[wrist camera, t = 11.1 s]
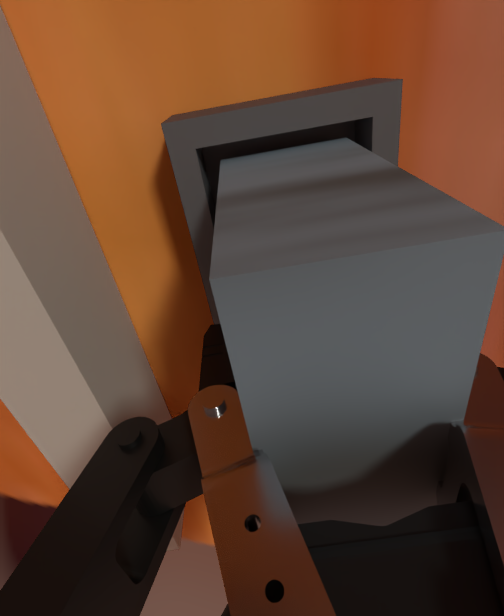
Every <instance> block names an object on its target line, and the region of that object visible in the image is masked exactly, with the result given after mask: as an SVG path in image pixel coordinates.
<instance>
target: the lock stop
mask: <svg viewBox="0 0 504 616" xmlns="http://www.w3.org/2000/svg"><path fill="white" fill-rule="evenodd" d="M503 255H504V226H502V225H500V224H498V223H497V222H495V221H493V220H491V219H490V218H488V217H486V216H484V215H483V214H481V213H479V212H477V211H475V210H474V209H472V208H470V207H468V206H467V205H465V204H463V203H461V202H460V201H458V200H456V199H454V198H452V197H451V196H449V195H447V194H445V193H444V192H442V191H440V190H438V189H437V188H435V187H433V186H431V185H429V184H428V183H426V182H424V181H422V180H421V179H419V178H417V177H415V176H413V175H412V174H410V173H408V172H406V171H405V170H403V169H401V168H399V167H398V166H396V165H394V164H392V163H390V162H389V161H387V160H385V159H383V158H382V157H380V156H378V155H376V154H375V153H373V152H371V151H369V150H367V149H366V148H364V147H362V146H360V145H359V144H357V143H355V142H353V141H352V140H350V139H348V138H346V137H345V138H339V139H333V140H328V141H322V142H317V143H311V144H306V145H300V146H294V147H289V148H283V149H278V150H272V151H267V152H261V153H255V154H250V155H244V156H239V157H233V158H228V159H222V160H221V161H220V172H219V182H218V193H217V203H216V214H215V224H214V235H213V245H212V256H211V266H210V277H209V281H210V284H211V288H212V292H213V296H214V300H215V304H216V308H217V312H218V316H219V320H220V324H221V328H222V332H223V336H224V340H225V344H226V348H227V352H228V355H229V359H230V363H231V367H232V371H233V375H234V379H235V383H236V387H237V391H238V395H239V399H240V403H241V407H242V411H243V415H244V419H245V422H246V426H247V430H248V434H249V438H250V442H251V446H252V450H253V451H254V450H261V449H262V450H263V452H264V453H266V454H267V455H268V457H269V459H270V461H271V464H272V466H273V468H274V471H275V473H276V475H277V478H278V480H279V482H280V485H281V487H282V489H283V492H284V494H285V496H286V499H287V501H288V504H289V506H290V508H291V511H292V513H293V515H294V518H295V520H296V522H297V524H303V523H311V522H318V521H325V520H337V521H345V522H352V523H360V524H367V525H375V526H386V525H389V524H391V523H394V522H396V521H398V520H400V519H402V518H404V517H407V516H409V515H411V514H413V513H415V512H418V511H420V510H422V509H424V508H426V507H428V506H435V505H437V498H436V489H437V485H438V481H442V480H444V477H445V473H446V468H447V464H448V459H449V443H448V433H449V428H450V423H451V422H453V421H461V420H464V417H465V413H466V409H467V405H468V400H469V396H470V392H471V388H472V384H473V380H474V375H475V371H476V367H477V363H478V359H479V355H480V350H481V346H482V342H483V338H484V334H485V330H486V325H487V321H488V317H489V313H490V309H491V305H492V300H493V296H494V292H495V288H496V284H497V280H498V276H499V271H500V267H501V263H502V259H503Z"/></svg>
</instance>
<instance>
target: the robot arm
mask: <svg viewBox="0 0 504 616" xmlns="http://www.w3.org/2000/svg"><path fill="white" fill-rule="evenodd" d="M448 443H449V459H448V464H447V468H446V473H445V477H444V480H442V481H438V485H437V489H436V498H437V505H435V506H428V507H426V508H424V509H422V510H420V511H418V512H415V513H413V514H411V515H409V516H407V517H404V518H402V519H400V520H398V521H396V522H394V523H391V524H389V525H386V526H375V525H367V524H360V523H352V522H345V521H337V520H325V521H318V522H311V523H303V524H297V522H296V520H295V518H294V515H293V513H292V511H291V508H290V506H289V504H288V501H287V499H286V496H285V494H284V492H283V489H282V487H281V485H280V482H279V480H278V478H277V475H276V473H275V471H274V468H273V466H272V464H271V461H270V459H269V457H268V455H267V454H266V453H264V452H263V450H262V449H261V450H254V451H253V450H252V446H251V442H250V438H249V434H248V430H247V426H246V422H245V419H244V415H243V411H242V407H241V403H240V399H239V395H238V391H237V387H236V383H235V379H234V375H233V371H232V367H231V363H230V359H229V355H228V352H227V348H226V344H225V340H224V336H223V332H222V328H221V324H215V325H211V326H210V327H209V329H208V330H207V332H206V333H205V335H204V341H203V351H202V362H201V373H200V383H199V392H198V393H197V394H196V395H195V396H194V397H193V398H192V399H191V401H190V403H189V406H188V410H187V411H185V412H184V413H183V414H181V415H179V416H177V417H175V418H173V419H171V420H168V421H166V422H164V423H161V424H159V425H157V424H156V423H155V421H153V420H152V419H150V418H147V417H134V418H130V419H127V420H125V421H123V422H121V423H120V424H118V425H117V426H116V427H114V428H113V429H112V430H111V431H110V432H109V433H108V435H107V436H106V437H105V439H104V440H103V442H102V443H101V445H100V446H99V448H98V449H97V451H96V452H95V453H94V455H93V456H92V458H91V459H90V461H89V462H88V464H87V465H86V467H85V468H84V470H83V471H82V472H81V474H80V475H79V477H78V478H77V480H76V481H75V483H74V484H73V486H72V487H71V488H70V490H69V491H68V493H67V494H66V496H65V497H64V499H63V500H62V502H61V503H60V504H59V506H58V507H57V509H56V510H55V512H54V513H53V515H52V516H51V518H50V519H49V521H48V522H47V523H46V525H45V526H44V528H43V529H42V531H41V532H40V534H39V535H38V537H37V538H36V539H35V541H34V542H33V544H32V545H31V547H30V548H29V550H28V551H27V553H26V554H25V556H24V557H23V558H22V560H21V561H20V563H19V564H18V566H17V567H16V569H15V570H14V572H13V573H12V575H11V576H10V577H9V579H8V580H7V582H6V583H5V585H4V586H3V588H2V589H1V590H0V616H140V613H141V611H142V608H143V606H144V604H145V601H146V599H147V596H148V594H149V591H150V589H151V587H152V584H153V582H154V579H155V577H156V575H157V572H158V570H159V567H160V565H161V562H162V560H163V558H164V555H165V553H166V550H167V548H168V546H169V543H170V541H171V538H172V536H173V533H174V531H175V529H176V526H177V524H178V521H179V519H180V516H181V514H182V512H183V509H184V507H185V504H186V502H187V501H189V500H191V499H193V498H195V497H197V496H199V495H201V494H203V493H204V498H205V502H206V507H207V511H208V516H209V520H210V525H211V529H212V534H213V538H214V543H215V547H216V552H217V556H218V560H219V565H220V570H221V574H222V578H223V583H224V587H225V592H226V596H227V601H228V604H227V606H226V608H225V610H224V612H223V613H222V615H221V616H504V368H500V367H497V366H496V365H495V363H494V362H493V361H492V360H491V359H490V358H488V357H487V356H485V355H483V354H481V353H480V355H479V359H478V363H477V367H476V371H475V375H474V380H473V384H472V388H471V392H470V396H469V400H468V405H467V409H466V413H465V417H464V420H461V421H453V422H451V423H450V428H449V433H448Z"/></svg>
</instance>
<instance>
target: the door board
mask: <svg viewBox="0 0 504 616" xmlns="http://www.w3.org/2000/svg"><path fill="white" fill-rule="evenodd" d="M0 399H1V400H2V401H3V403H4V404H5V405H6V407H7V408H8V409H9V411H10V412H11V413H12V414H13V416H14V417H15V418H16V420H17V421H18V422H19V424H20V425H21V426H22V428H23V429H24V430H25V431H26V433H27V434H28V435H29V437H30V438H31V439H32V441H33V442H34V443H35V445H36V446H37V447H38V448H39V450H40V451H41V452H42V454H43V455H44V456H45V458H46V459H47V460H48V462H49V463H50V464H51V465H52V467H53V468H54V469H55V471H56V472H57V473H58V475H59V476H60V477H61V479H62V480H63V481H64V482H65V484H66V485H67V486H68V488H69V489H70V488H71V487H72V486H73V484H74V483H75V481H76V480H77V478H78V477H79V475H80V474H81V472H82V471H83V470H84V468H85V467H86V465H87V464H88V462H89V461H90V459H91V458H92V456H93V455H94V453H95V452H96V451H97V449H98V448H99V446H100V445H101V443H102V442H103V440H104V439H105V437H106V436H107V435H108V433H109V432H110V431H111V430H112V429H113V428H114V427H116V426H117V425H118V424H120V423H121V422H123V421H125V420H127V419H130V418H134V417H147V418H150V419H152V420H153V421H155V423H156V424H157V425H159V424H161V423H164V422H166V421H168V420H171V419H172V418H171V415H170V413H169V411H168V408H167V406H166V403H165V401H164V399H163V396H162V394H161V391H160V389H159V386H158V384H157V382H156V379H155V377H154V374H153V372H152V370H151V367H150V365H149V362H148V360H147V358H146V355H145V353H144V350H143V348H142V346H141V343H140V341H139V338H138V336H137V334H136V331H135V329H134V326H133V324H132V322H131V319H130V317H129V314H128V312H127V309H126V307H125V305H124V302H123V300H122V297H121V295H120V293H119V290H118V288H117V285H116V283H115V281H114V278H113V276H112V273H111V271H110V269H109V266H108V264H107V261H106V259H105V257H104V254H103V252H102V249H101V247H100V245H99V242H98V240H97V237H96V235H95V232H94V230H93V228H92V225H91V223H90V220H89V218H88V216H87V213H86V211H85V208H84V206H83V204H82V201H81V199H80V196H79V194H78V192H77V189H76V187H75V184H74V182H73V180H72V177H71V175H70V172H69V170H68V168H67V165H66V163H65V160H64V158H63V155H62V153H61V151H60V148H59V146H58V143H57V141H56V139H55V136H54V134H53V131H52V129H51V127H50V124H49V122H48V119H47V117H46V115H45V112H44V110H43V107H42V105H41V103H40V100H39V98H38V95H37V93H36V91H35V88H34V86H33V83H32V81H31V79H30V76H29V74H28V71H27V69H26V66H25V64H24V62H23V59H22V57H21V54H20V52H19V50H18V47H17V45H16V42H15V40H14V38H13V35H12V33H11V30H10V28H9V26H8V23H7V21H6V18H5V16H4V14H3V11H2V9H1V6H0ZM183 515H184V509H183V512H182V514H181V516H180V519H179V521H178V524H177V526H176V529H175V531H174V533H173V536H172V538H171V541H170V543H169V546H168V548H167V550H166V551H171V550H179V549H180V544H181V534H182V525H183Z"/></svg>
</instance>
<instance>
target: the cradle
mask: <svg viewBox="0 0 504 616" xmlns="http://www.w3.org/2000/svg"><path fill="white" fill-rule="evenodd" d="M402 81H403V79H386V78H371V79H366V80H360V81H355V82H349V83H344V84H339V85H333V86H328V87H322V88H317V89H312V90H306V91H301V92H296V93H290V94H285V95H279V96H274V97H269V98H263V99H258V100H252V101H247V102H242V103H236V104H231V105H226V106H220V107H215V108H209V109H204V110H199V111H193V112H188V113H182V114H177V115H172V116H171V117H169V118H168V119H167V120H165V121H164V122H163V123H161V126H162V130H163V133H164V137H165V141H166V145H167V148H168V152H169V156H170V160H171V164H172V167H173V171H174V175H175V179H176V182H177V186H178V190H179V194H180V197H181V201H182V205H183V209H184V213H185V216H186V220H187V224H188V228H189V231H190V235H191V239H192V243H193V247H194V250H195V254H196V258H197V262H198V265H199V269H200V273H201V277H202V280H203V284H204V288H205V292H206V296H207V299H208V303H209V307H210V311H211V314H212V318H213V322H214V325H215V324H220V320H219V316H218V312H217V308H216V304H215V300H214V296H213V292H212V288H211V284H210V281H209V277H210V266H211V256H212V245H213V235H214V224H215V214H216V203H217V193H218V182H219V172H220V161H221V160H222V159H228V158H233V157H239V156H244V155H250V154H255V153H261V152H267V151H272V150H278V149H283V148H289V147H294V146H300V145H306V144H311V143H317V142H322V141H328V140H333V139H339V138H345V137H346V138H348V139H350V140H352V141H353V142H355V143H357V144H359V145H360V146H362V147H364V148H366V149H367V150H369V151H371V152H373V153H375V154H376V155H378V156H380V157H382V158H383V159H385V160H387V161H389V162H390V163H392V164H394V165H396V166H398V151H399V134H400V116H401V99H402Z"/></svg>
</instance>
